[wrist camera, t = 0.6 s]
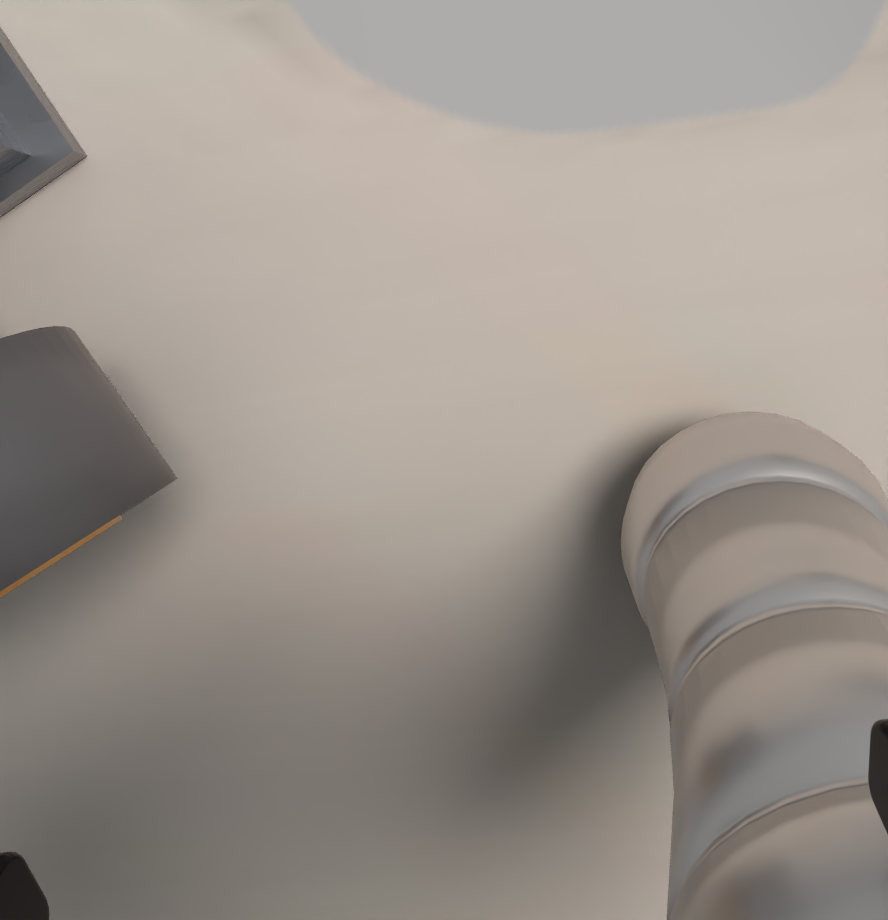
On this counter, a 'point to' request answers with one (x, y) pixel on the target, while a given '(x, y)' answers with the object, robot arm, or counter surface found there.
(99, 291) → the counter surface
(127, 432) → the knob
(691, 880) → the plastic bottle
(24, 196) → the mount
